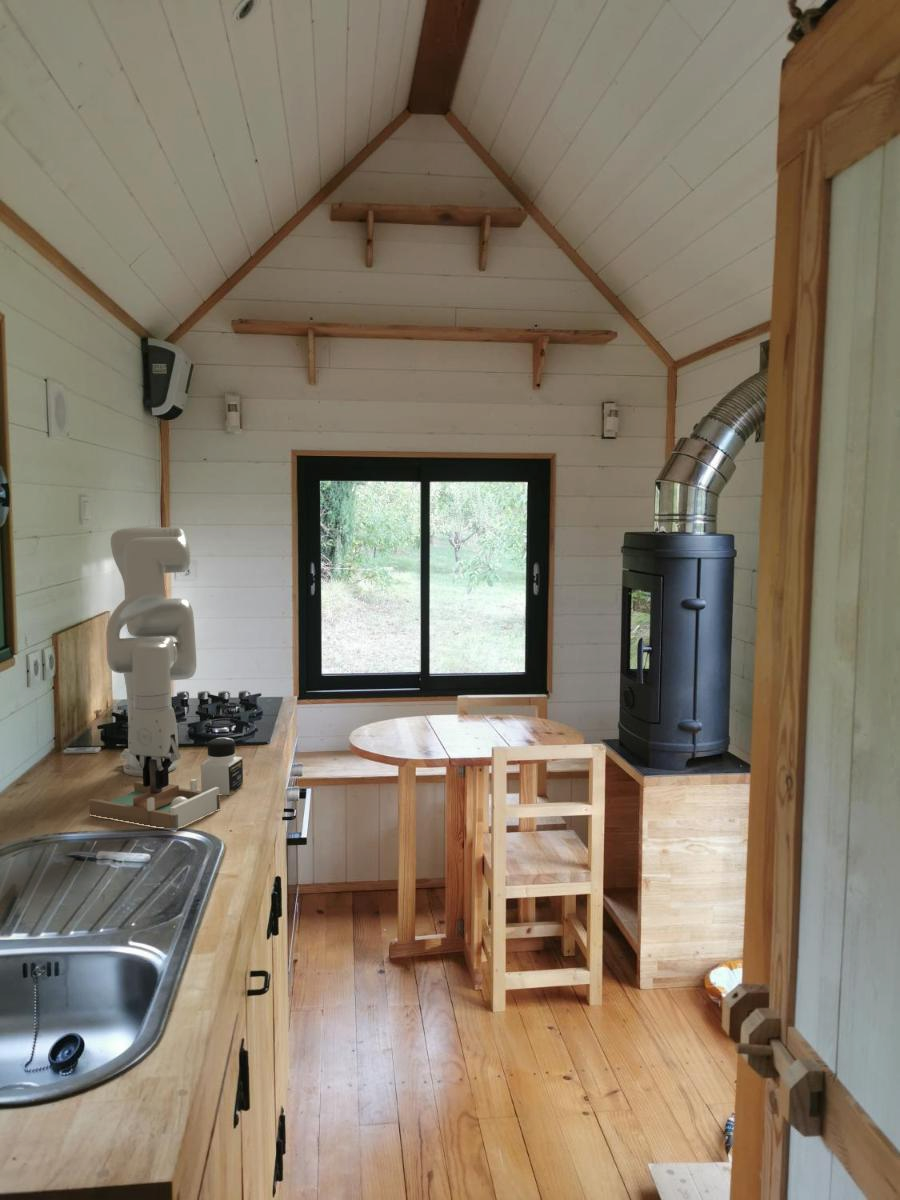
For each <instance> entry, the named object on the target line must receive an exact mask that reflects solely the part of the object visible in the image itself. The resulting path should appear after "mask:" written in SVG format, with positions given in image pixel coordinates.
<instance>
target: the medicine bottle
mask: <svg viewBox="0 0 900 1200" xmlns="http://www.w3.org/2000/svg"><path fill="white" fill-rule="evenodd" d="M235 745H236V744H235V740H234V739H233V738H230V737H216V738H213V739H211V740H209V741H208V742H207V759H206V760H205V761H204V762H202V763H201V764H200V781H201V782H200V785H201V787H200V788H201V790H200V791H202V792H206V791H208V790H210V789H212V788H214V787H219V794H222V795H221V796H226V795H230V796H231V794H232V793H233V794H234V793H236V792H238V790H240V789H241V788H243V786H244V772H243V771H244V769H243V768H244V766H243V765H244V764H243V757H242V756H236V747H235ZM239 788H240V789H239ZM235 791H236V792H235ZM233 794H232V795H233Z"/></svg>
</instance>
